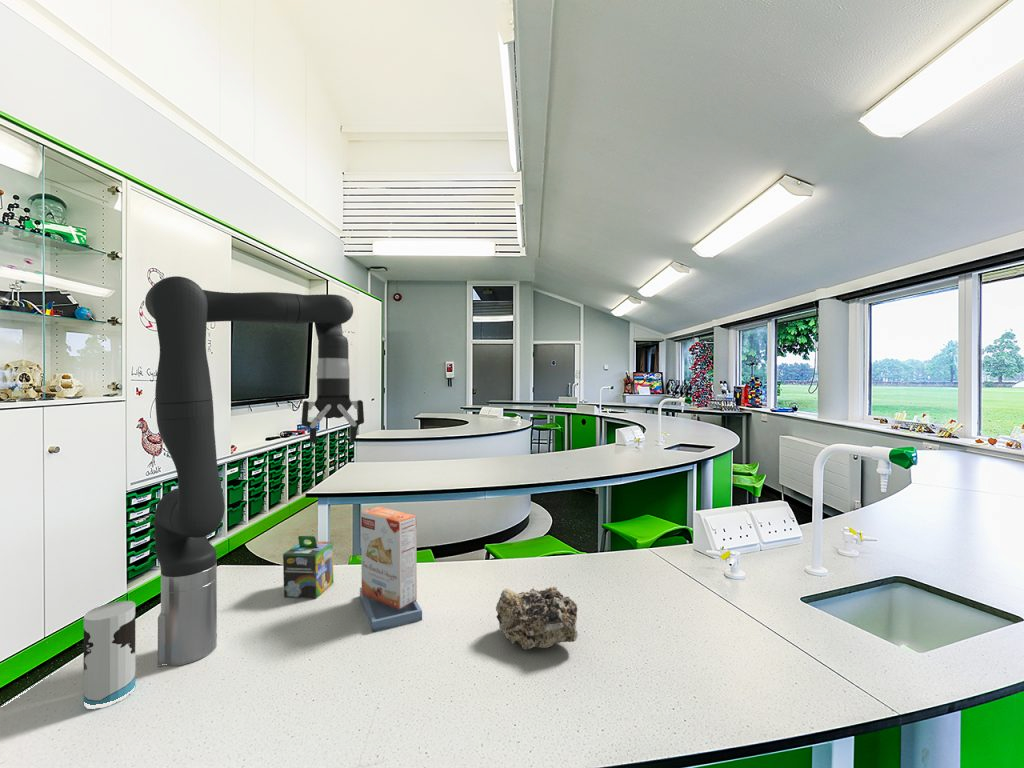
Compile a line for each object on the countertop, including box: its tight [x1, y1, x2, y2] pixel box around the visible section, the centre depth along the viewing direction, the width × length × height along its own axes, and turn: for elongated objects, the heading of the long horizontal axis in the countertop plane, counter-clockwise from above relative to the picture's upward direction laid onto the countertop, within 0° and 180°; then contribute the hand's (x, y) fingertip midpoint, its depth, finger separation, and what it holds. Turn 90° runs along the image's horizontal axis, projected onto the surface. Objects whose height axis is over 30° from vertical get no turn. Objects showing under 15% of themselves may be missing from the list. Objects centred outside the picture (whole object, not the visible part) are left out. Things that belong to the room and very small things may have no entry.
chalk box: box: [282, 535, 335, 600], centre depth 118 cm, size 9×9×15 cm
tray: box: [359, 586, 423, 633], centre depth 109 cm, size 11×19×2 cm, turn 27°
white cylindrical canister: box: [83, 600, 136, 705], centre depth 78 cm, size 7×7×15 cm
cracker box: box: [360, 506, 418, 610], centre depth 109 cm, size 14×6×21 cm, turn 56°
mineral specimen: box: [495, 586, 579, 650], centre depth 97 cm, size 16×18×10 cm
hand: (333, 442), depth 110 cm, fingers open, 8 cm apart
